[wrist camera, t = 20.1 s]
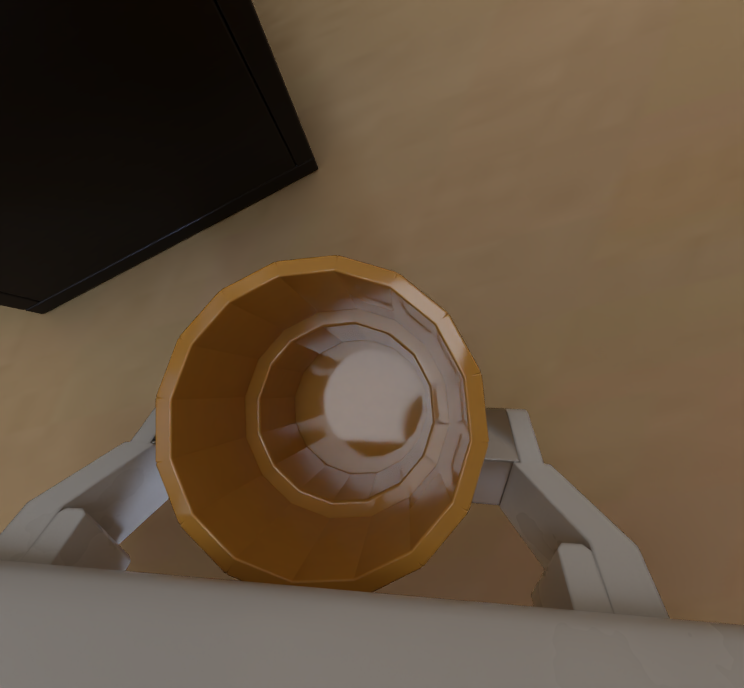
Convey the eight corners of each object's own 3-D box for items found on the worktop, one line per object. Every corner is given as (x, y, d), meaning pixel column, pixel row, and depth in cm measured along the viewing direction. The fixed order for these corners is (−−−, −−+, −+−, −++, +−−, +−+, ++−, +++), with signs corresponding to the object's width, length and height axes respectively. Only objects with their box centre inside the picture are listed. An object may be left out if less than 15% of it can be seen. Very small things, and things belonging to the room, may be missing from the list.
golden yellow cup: (476, 444, 14) (553, 504, 7) (322, 521, 14) (231, 662, 7) (397, 294, 15) (388, 201, 8) (254, 368, 15) (109, 347, 8)
